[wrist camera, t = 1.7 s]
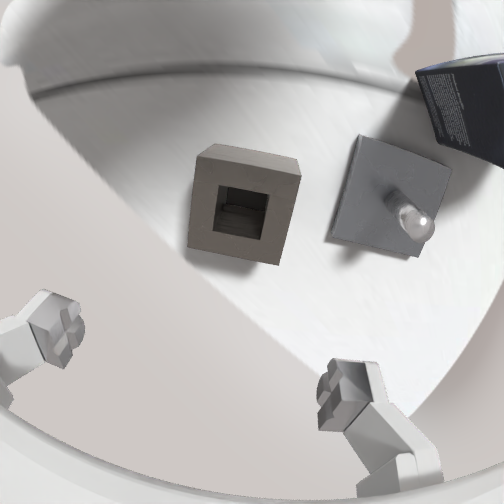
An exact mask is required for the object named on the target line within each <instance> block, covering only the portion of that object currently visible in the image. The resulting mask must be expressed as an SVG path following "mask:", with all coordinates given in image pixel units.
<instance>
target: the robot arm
mask: <svg viewBox="0 0 504 504" xmlns="http://www.w3.org/2000/svg"><path fill="white" fill-rule="evenodd" d="M80 312H81V308H80V304H79V303H78V302H76V301H74V300H72V299H69V298H66V297H64V296H61V295H59V294H56V293H53V292H50V291H48V290H46V289H42V290H39V292H38V293H37V294H36V295H35V296H34V297H33V298H32V299H31V300H30V301H29V302H28V303H27V304H26V305H25V306H24V307H23V308H22V309H21V311H20V312H19V313H18V314H17V315H16V316H14V315H11V316H9V317H6V318H4V319H1V320H0V504H504V462H501V463H499V464H496V465H494V466H491V467H489V468H486V469H484V470H481V471H478V472H476V473H473V474H470V475H467V476H464V477H460V478H457V479H454V480H450V481H447V482H444V477H443V472H442V468H441V464H440V459H439V456H438V451H437V448H436V447H435V446H434V445H433V444H432V443H431V442H430V441H429V439H427V437H426V436H425V435H424V434H423V433H422V432H421V431H420V430H419V429H418V428H417V427H416V426H415V425H414V424H413V423H412V422H411V421H410V420H409V419H408V418H407V417H406V416H405V415H404V414H403V413H402V411H401V410H400V409H399V408H398V407H397V406H396V405H395V404H394V403H389V400H388V396H387V392H386V388H385V385H384V381H383V377H382V374H381V370H380V367H379V364H378V363H377V362H369V361H358V360H347V359H337V358H333V359H331V360H330V362H329V364H328V365H327V368H328V372H326V373H324V374H322V376H321V378H320V380H319V383H318V387H317V402H318V404H319V405H320V406H321V409H320V410H319V412H318V428H319V431H333V432H344V433H343V434H344V435H345V437H346V439H347V440H348V442H349V443H350V445H351V446H352V447H353V449H354V451H355V452H356V454H357V455H358V457H359V458H360V459H361V461H362V462H363V464H364V465H365V467H366V468H367V470H368V471H369V473H370V475H369V476H367V477H366V478H364V479H363V480H361V481H360V482H359V483H358V484H357V485H356V488H357V498H351V499H336V500H282V499H281V500H280V499H266V498H254V497H246V496H238V495H230V494H224V493H218V492H212V491H206V490H201V489H196V488H191V487H187V486H183V485H179V484H174V483H170V482H167V481H163V480H160V479H156V478H153V477H149V476H146V475H143V474H140V473H137V472H134V471H131V470H128V469H125V468H122V467H120V466H117V465H114V464H112V463H109V462H106V461H104V460H101V459H99V458H96V457H94V456H92V455H90V454H87V453H85V452H83V451H81V450H79V449H76V448H74V447H72V446H70V445H68V444H66V443H64V442H62V441H60V440H58V439H56V438H54V437H52V436H50V435H49V434H47V433H45V432H43V431H42V430H40V429H38V428H36V427H35V426H33V425H31V424H29V423H28V422H26V421H25V420H23V419H21V418H20V417H18V416H17V415H15V414H14V413H12V412H11V411H9V410H8V408H9V406H10V405H11V403H12V401H13V400H14V399H13V395H12V394H11V392H10V391H9V389H8V388H7V386H8V385H9V384H11V383H13V382H14V381H16V380H17V379H19V378H21V377H22V376H24V375H25V374H27V373H29V372H30V371H32V370H34V369H35V368H37V367H38V366H40V365H42V364H43V363H45V361H46V362H48V363H50V364H52V365H55V366H57V367H59V368H62V369H64V368H65V367H66V365H67V363H68V362H69V361H70V359H71V357H72V356H73V354H72V349H74V348H76V347H78V346H79V345H80V343H81V342H82V340H83V337H84V333H85V325H84V321H83V319H82V318H81V317H80V316H79V313H80Z"/></svg>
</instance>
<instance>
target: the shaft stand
mask: <svg viewBox="0 0 504 504" xmlns="http://www.w3.org/2000/svg"><path fill="white" fill-rule="evenodd" d="M451 171H452V169H450V168H448V167H447V166H444V165H442V164H440V163H437V162H435V161H433V160H430V159H428V158H425V157H423V156H420V155H418V154H415V153H412V152H410V151H407V150H404V149H402V148H399V147H396V146H393V145H391V144H388V143H385V142H382V141H379V140H376V139H373V138H370V137H366V136H363V135H360V134H359V136H358V140H357V144H356V148H355V152H354V155H353V159H352V163H351V167H350V170H349V174H348V177H347V181H346V184H345V188H344V191H343V195H342V198H341V201H340V205H339V208H338V211H337V215H336V218H335V221H334V224H333V227H332V230H331V233H332V236H333V238H338V239H342V240H346V241H351V242H355V243H359V244H364V245H368V246H372V247H377V248H381V249H385V250H389V251H393V252H397V253H401V254H406V255H410V256H414V257H419V255H420V253H421V251H422V248H423V246H424V244H425V242H426V241H428V240H429V239H430V238H431V237H432V235H433V233H434V230H435V225H434V219H435V217H436V214H437V212H438V209H439V206H440V203H441V201H442V198H443V195H444V192H445V189H446V186H447V183H448V180H449V177H450V174H451Z"/></svg>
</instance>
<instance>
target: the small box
mask: <svg viewBox="0 0 504 504" xmlns="http://www.w3.org/2000/svg"><path fill="white" fill-rule="evenodd" d="M415 74H416V77H417V80H418V82H419V85H420V88H421V91H422V93H423V96H424V100H425V102H426V106H427V109H428V112H429V115H430V118H431V121H432V125H433V128H434V132H435V135H436V139H437V142H438V143H439V144H440V145H445V146H447V147H451V148H454V149H457V150H460V151H462V152H465V153H467V154H470V155H473V156H475V157H478V158H480V159H482V160H485V161H487V162H490V163H492V164H494V165H496V166H498V167H501V168H503V169H504V53H495V54H488V55H480V56H473V57H468V58H462V59H457V60H453V61H449V62H444V63H440V64H436V65H433V66H429V67H426V68H423V69H420V70H417V71H416V72H415Z"/></svg>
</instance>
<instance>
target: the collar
mask: <svg viewBox="0 0 504 504" xmlns="http://www.w3.org/2000/svg"><path fill="white" fill-rule="evenodd" d="M300 180H301V172H300V169H299V165H298V162H297V159H294V158H289V157H284V156H280V155H275V154H270V153H265V152H260V151H255V150H250V149H244V148H239V147H233V146H227V145H221V144H214V145H212V146H211V147H209V148H208V149H206V150H205V151H203V152H202V153H200V154H199V155H198V156H197V160H196V168H195V176H194V184H193V193H192V202H191V212H190V222H189V233H188V245H187V247H189V248H194V249H198V250H203V251H208V252H213V253H218V254H223V255H228V256H233V257H238V258H243V259H248V260H253V261H258V262H263V263H268V264H273V265H278V266H279V263H280V259H281V255H282V251H283V247H284V244H285V240H286V236H287V232H288V228H289V224H290V220H291V216H292V212H293V208H294V204H295V200H296V196H297V192H298V188H299V184H300ZM228 187H233V188H238V189H244V190H249V191H254V192H259V193H264V194H268V196H267V201H266V205H265V210H264V211H260V210H255V209H250V208H245V207H240V206H235V205H229V204H226V199H227V193H228Z"/></svg>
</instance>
